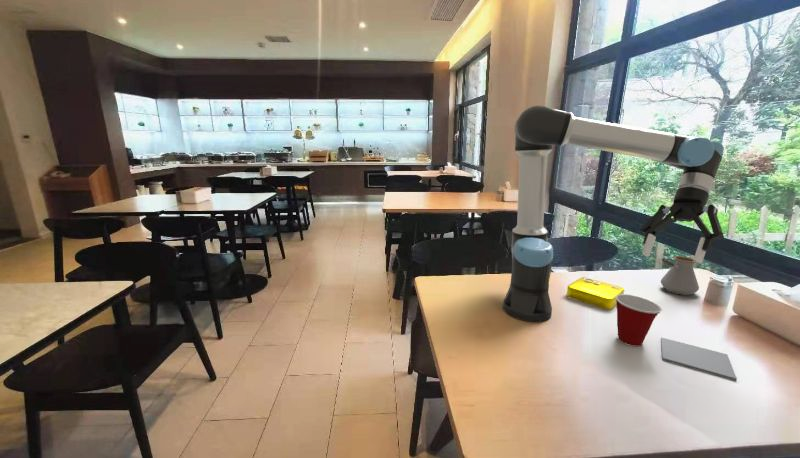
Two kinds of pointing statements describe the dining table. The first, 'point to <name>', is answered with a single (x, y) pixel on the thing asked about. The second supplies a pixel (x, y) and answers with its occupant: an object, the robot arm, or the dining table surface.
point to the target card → (697, 358)
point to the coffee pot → (680, 276)
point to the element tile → (594, 292)
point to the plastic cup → (634, 318)
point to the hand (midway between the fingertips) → (669, 258)
